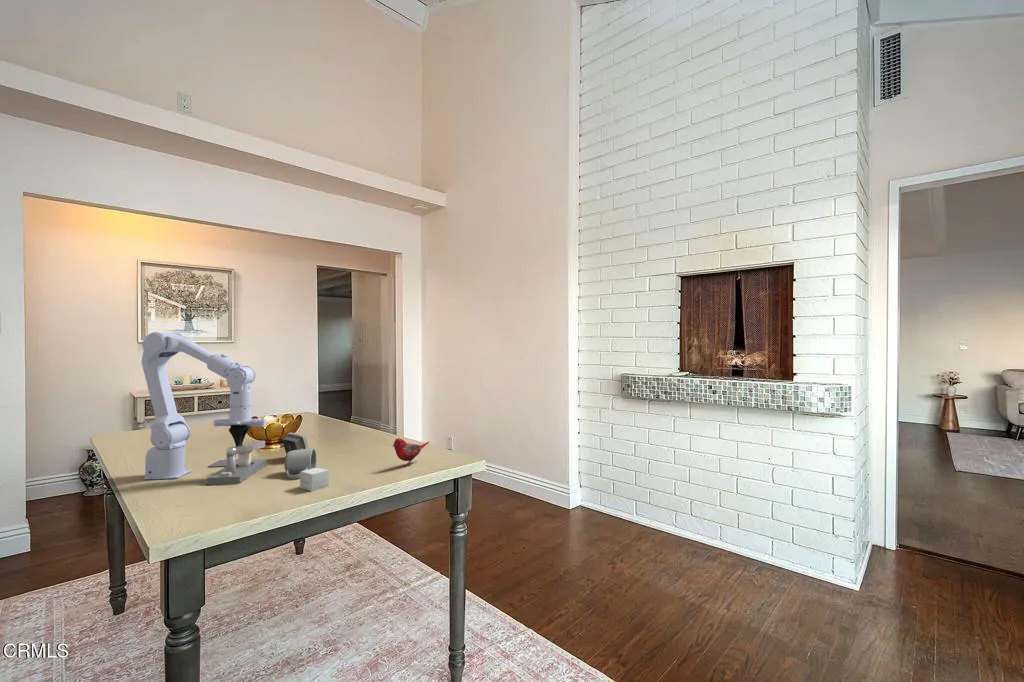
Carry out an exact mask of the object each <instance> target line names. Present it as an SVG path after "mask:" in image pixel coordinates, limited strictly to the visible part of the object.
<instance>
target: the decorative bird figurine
mask: <svg viewBox="0 0 1024 682" xmlns="http://www.w3.org/2000/svg"><path fill="white" fill-rule="evenodd" d="M429 443H430V441H426V442H424V443H423V444H421V445H419V444H417V443H411V442H406V441H405V439H403V438H399V437H397V438H396V439H395V440H394V441H393V445H392V447H393V448H394V451H395V453H396V456H397V458H399V460H401V461H403V462H407V463H405V464H404V465H402V467H408V466H411V465H412V464H413V460H414V459H415V458H416V457H417V456H418V455H419V454H420V453H421V450H422V449H423V448H424V447H425V446H427V445H428V444H429ZM410 464H411V465H410Z"/></svg>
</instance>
